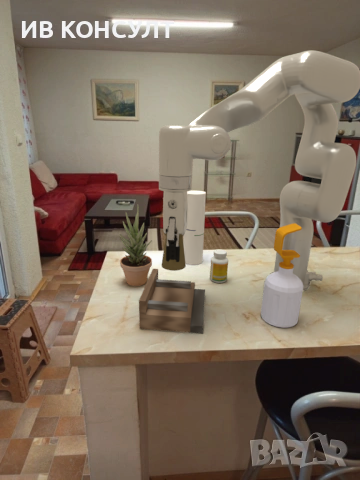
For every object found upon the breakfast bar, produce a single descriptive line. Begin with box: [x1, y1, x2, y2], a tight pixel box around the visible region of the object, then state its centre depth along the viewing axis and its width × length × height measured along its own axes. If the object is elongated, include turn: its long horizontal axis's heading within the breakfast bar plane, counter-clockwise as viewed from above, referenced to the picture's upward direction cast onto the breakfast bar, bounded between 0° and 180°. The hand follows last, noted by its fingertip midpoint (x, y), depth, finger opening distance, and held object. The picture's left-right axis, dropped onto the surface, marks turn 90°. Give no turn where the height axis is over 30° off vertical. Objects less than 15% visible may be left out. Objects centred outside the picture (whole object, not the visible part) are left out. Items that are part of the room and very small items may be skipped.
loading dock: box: [138, 268, 206, 335], centre depth 81 cm, size 15×18×8 cm
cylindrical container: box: [183, 189, 207, 266], centre depth 110 cm, size 7×7×25 cm
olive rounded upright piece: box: [161, 222, 187, 272], centre depth 77 cm, size 6×6×11 cm
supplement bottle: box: [209, 249, 229, 284], centre depth 99 cm, size 5×5×10 cm
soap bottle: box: [260, 223, 304, 328], centre depth 76 cm, size 9×9×25 cm
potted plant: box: [119, 205, 153, 287], centre depth 94 cm, size 10×10×25 cm
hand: (173, 256), depth 78 cm, fingers closed on olive rounded upright piece, 4 cm apart
